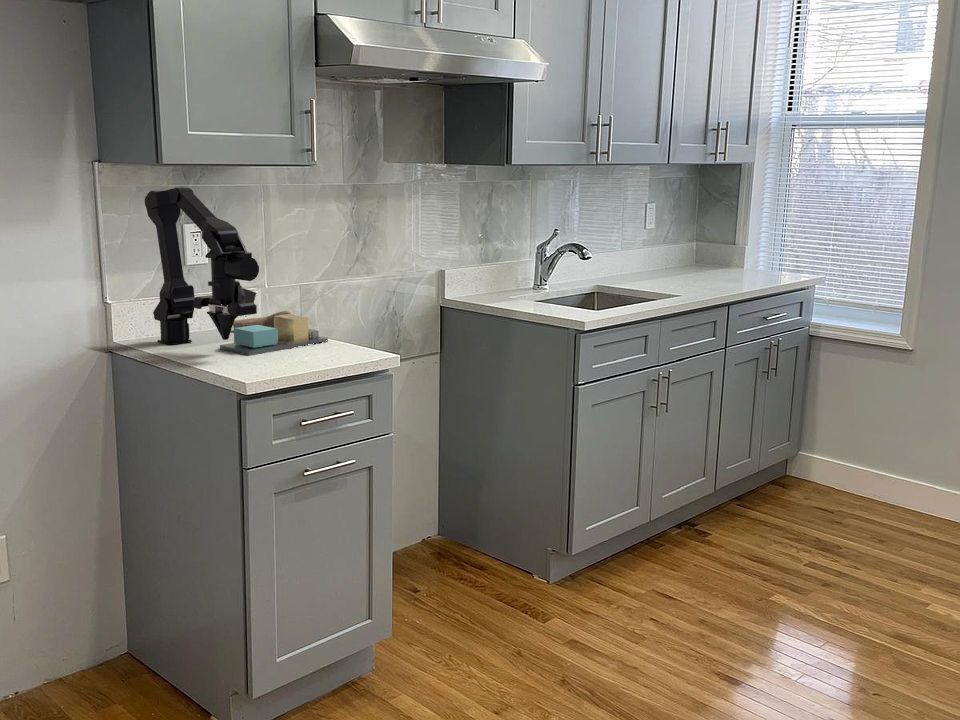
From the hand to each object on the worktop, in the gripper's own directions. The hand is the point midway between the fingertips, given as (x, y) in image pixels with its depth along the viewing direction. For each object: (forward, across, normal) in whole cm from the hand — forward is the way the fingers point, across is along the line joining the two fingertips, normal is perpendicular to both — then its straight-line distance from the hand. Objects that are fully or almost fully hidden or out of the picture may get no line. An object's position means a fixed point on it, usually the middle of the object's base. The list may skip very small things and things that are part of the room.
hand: (225, 339), depth 236 cm
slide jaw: (+2, 0, -9) cm, 10 cm away
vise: (+4, 0, -16) cm, 16 cm away
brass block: (+2, 0, -21) cm, 21 cm away
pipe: (+4, +19, -26) cm, 33 cm away
